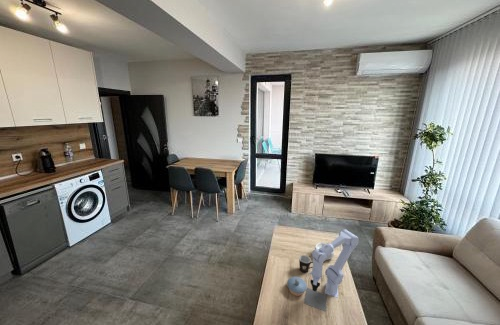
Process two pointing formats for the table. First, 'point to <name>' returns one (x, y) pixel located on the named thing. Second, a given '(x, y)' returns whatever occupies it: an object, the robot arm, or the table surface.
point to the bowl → (296, 293)
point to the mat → (316, 299)
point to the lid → (296, 285)
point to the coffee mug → (304, 263)
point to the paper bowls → (320, 247)
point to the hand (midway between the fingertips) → (315, 286)
